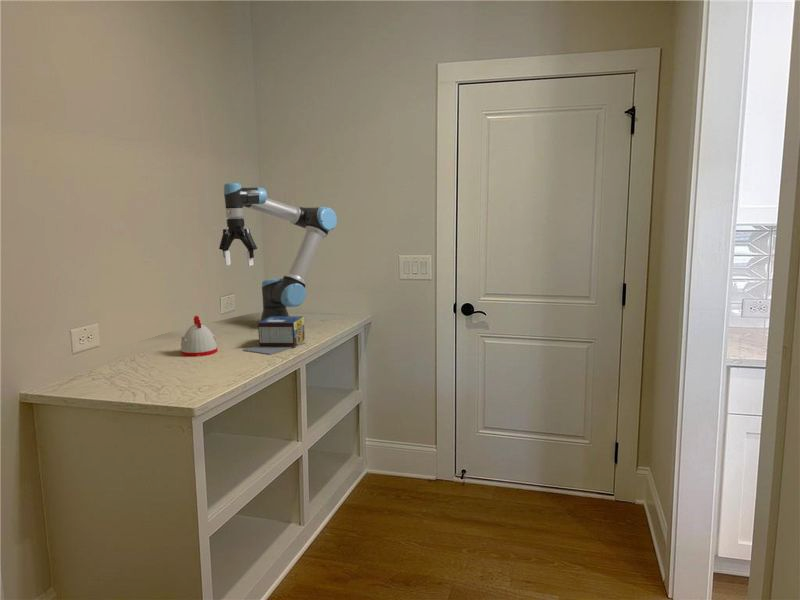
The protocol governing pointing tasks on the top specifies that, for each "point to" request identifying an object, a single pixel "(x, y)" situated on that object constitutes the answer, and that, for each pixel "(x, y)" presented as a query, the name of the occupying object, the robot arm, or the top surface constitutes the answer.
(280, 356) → the top surface
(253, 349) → the slate rubber mat
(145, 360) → the top surface
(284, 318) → the protein box
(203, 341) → the kitchen timer
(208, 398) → the top surface
